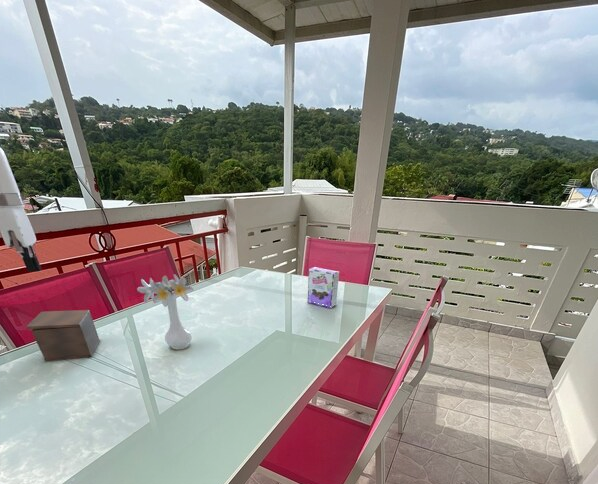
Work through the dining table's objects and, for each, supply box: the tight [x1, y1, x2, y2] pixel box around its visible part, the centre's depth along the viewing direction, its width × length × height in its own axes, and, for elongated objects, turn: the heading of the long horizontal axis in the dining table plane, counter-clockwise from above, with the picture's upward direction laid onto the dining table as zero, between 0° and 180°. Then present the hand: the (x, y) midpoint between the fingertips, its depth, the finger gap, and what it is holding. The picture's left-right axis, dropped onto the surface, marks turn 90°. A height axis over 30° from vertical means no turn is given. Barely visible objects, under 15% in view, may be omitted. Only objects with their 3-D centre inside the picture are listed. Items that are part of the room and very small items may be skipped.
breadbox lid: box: [25, 309, 91, 330], centre depth 110 cm, size 15×14×1 cm
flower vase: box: [136, 273, 194, 351], centre depth 114 cm, size 13×18×25 cm
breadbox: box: [31, 312, 100, 362], centre depth 113 cm, size 14×14×11 cm
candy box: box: [307, 266, 340, 309], centre depth 160 cm, size 14×6×16 cm, turn 55°
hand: (34, 270), depth 101 cm, fingers closed
